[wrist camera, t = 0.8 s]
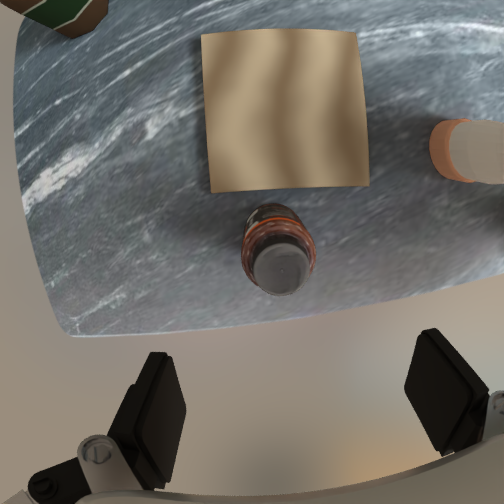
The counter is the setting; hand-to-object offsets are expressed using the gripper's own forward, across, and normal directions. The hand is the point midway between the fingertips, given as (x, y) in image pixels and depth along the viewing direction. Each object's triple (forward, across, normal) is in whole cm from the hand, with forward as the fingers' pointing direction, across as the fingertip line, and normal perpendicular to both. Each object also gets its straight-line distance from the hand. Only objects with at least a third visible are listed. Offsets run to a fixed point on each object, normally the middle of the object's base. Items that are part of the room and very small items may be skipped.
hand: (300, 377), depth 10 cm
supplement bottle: (+22, 0, 0) cm, 23 cm away
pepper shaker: (+22, -22, -9) cm, 33 cm away
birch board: (+22, -2, -13) cm, 26 cm away
